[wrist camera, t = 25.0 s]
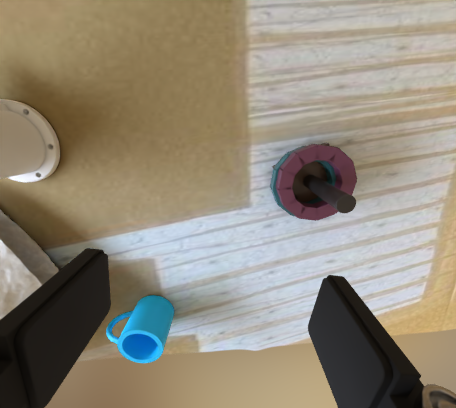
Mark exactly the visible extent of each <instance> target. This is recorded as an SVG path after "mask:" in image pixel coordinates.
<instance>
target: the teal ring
mask: <svg viewBox="0 0 456 408" xmlns="http://www.w3.org/2000/svg"><path fill="white" fill-rule="evenodd" d="M303 147H306V146H302V147H300V148H297V149H295V150H293V151H290V152H288V153H287V154H285V155H284V156H283V158H282V159H281V160H280V161H279V162H278V164H277V165H276V166H275V167H274V168H275V169H273V174H272V179H271V184H270V187H271V190H272V193H273V195H274V198H275V201H276V202H277V204H278V205H279V206H280V207H281V208H282V209H284V210H285V211H286V212H288V213H289V214H290V215H292V216H295V215H293V214H292V213H291V212H290V211H288V210H287V209H286V208H285V207H284V206H283V205H282V203H281V201H280V199H279V196H278V193H277V190H276V181H277V176H278V172H279V168H280V166H281V165H282V164H283V163H284V162H285V160H286V159H287V158H288V157H289V156H290V155H291V153H292V152H293V153H294V151H296V150H298V149H301V148H303ZM314 162H318V163H320V164H321V165H322V166H323V167H324V168H325V171H326V175H327V183H329V184H331V185H333V186H334V185H335V182H336V176H335V172H334V168H333V167H332V166H331V165H330V164H329V163H328V162H327V161H322V160H316V161H314ZM322 200H323V199H321V198H320V197H319V196H318V197H317V198H316V199H313V200H310V201H308V202H301V203H308V204H314V203H317V202H320V201H322Z"/></svg>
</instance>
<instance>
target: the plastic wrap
mask: <svg viewBox="0 0 456 408" xmlns="http://www.w3.org/2000/svg"><path fill="white" fill-rule="evenodd" d="M9 216H10V215H9ZM8 218H9V217H8V216H7V217H6V215H4V213H3V212H2V211H1V210H0V320H1V319H2V318H3V317H4V316H6V315H7V314H8V313H9V312H10V311H12V310H13V309H14V308H15V307H16V306H18V305H19V304H20V303H21V302H22V301H24V300H25V299H26V298H27V297H28V296H30V295H31V294H32V293H33V292H35V291H36V290H37V289H38V288H39V287H41V286H42V285H43V284H44V283H45V282H47V281H48V280H49V279H50V278H51V277H53V276H54V275H55V274H56V273H57V272H59V270H58V269H59V268H57V267H55V265H54V264H55V263H52V262H51V260H50V259H49V257H48V256H47V255H48V254H45V253H44V251H42V250H41V248H40V246H39V247H38V245H37V244H36V243H37V242H35V241H34V240H33V239H32V238H30V236H28V234H26V232H25V231H24V230H23V229H21V228H20V227H19V225H17V224H16V223H14V222H12V221H11V220H10V219H8Z"/></svg>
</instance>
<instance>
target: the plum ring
mask: <svg viewBox="0 0 456 408" xmlns="http://www.w3.org/2000/svg"><path fill="white" fill-rule="evenodd" d="M316 160H322V161H327V162H328V163H329V164H330V165H331V166H332V167H333V168H334V172H335V176H336V182H335V185H334V186H335V187H336V188H338V189H340V190H342V191H344V192H346V193H348V194H349V195H351V196H352V194H353V191H354V188H355V185H356V182H357V177H356V172H355V168H354V163H353V161H352V160H351V159H350V158H349V157H348V156H347V155H346V154H345V153H344V152H343V151H341V150H340V149H339V148H337V147H331V146H324V145H317V144H311V145H308V146H306V147H303V148H301V149H298V150H296V151H294V153H293V152H292V153H291V155H290V156H289V157H288V158H287V159H286V160H285V162H284V163H283V164H282V165H281V166H280V168H279V172H278V176H277V181H276V190H277V193H278V196H279V199H280V201H281V203H282V205H283V206H284V207H285V208H286V209H287V210H288V211H290V212H291V213H292V214H293V215H295V216H296V217H297V218H300V219H308V220H320V219H323V218H326V217H328V216H331V215H334V214H335V213H337V212H338V211H337V210H336V209H335V208H333V207H332V206H331V205H329V204H328V203H327V202H325V201H324V200H322V201H320V202H317V203H314V204H308V203H301V202H300V201H298V200H297V199H296V198H295V195H294V192H293V189H292V186H293V182H294V178H295V175H296V174H297V173H298V171H299V170H300V169H301V168H302V167H303V166H304V165H305V164H308V163H310V162H313V161H316Z"/></svg>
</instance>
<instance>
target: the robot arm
mask: <svg viewBox="0 0 456 408" xmlns="http://www.w3.org/2000/svg"><path fill="white" fill-rule="evenodd" d="M59 159H60V146H59V141H58V139H57V136H56V133H55V132H54V130H53V128H52V126H51V125H50V124H49V122H48V121H47V120H46V119H45V118H44V117H43V116H42V115H41V114H40V113H39V112H38V111H36V110H35V109H33V108H32V107H30V106H28V105H26V104H24V103H21V102H18V101H14V100H7V99H0V179H3V178H9V179H12V180H15V181H19V182H27V183H28V182H36V181H40V180H43V179H45V178H47V177H49V176H50V175H51V174H52V173H53V172H54V171H55V170H56V168H57V166H58V163H59ZM110 306H111V300H110V285H109V269H108V256H107V254H104V251H103V250H99V249H90V248H87V249H85V250H84V251H83V252H82V253H80V254H79V255H78V256H77V257H76V258H74V259H73V260H72V261H71V262H69V263H68V264H67V265H66V266H65V267H63V268H62V269H61V270H60V271H59V272H57V273H56V274H55V275H54V276H53V277H51V278H50V279H49V280H48V281H47V282H45V283H44V284H43V285H42V286H41V287H39V288H38V289H37V290H36V291H35V292H33V293H32V294H31V295H30V296H28V297H27V298H26V299H25V300H24V301H22V302H21V303H20V304H19V305H18V306H16V307H15V308H14V309H13V310H12V311H10V312H9V313H8V314H7V315H6V316H4V317H3V318H2V319H1V320H0V408H44V407H45V406H46V405H47V404H48V403H49V401H50V400H51V398H52V397H53V395H54V394H55V392H56V391H57V389H58V388H59V386H60V385H61V383H62V382H63V380H64V379H65V377H66V376H67V374H68V373H69V371H70V370H71V368H72V367H73V365H74V364H75V362H76V361H77V359H78V358H79V356H80V355H81V353H82V352H83V350H84V349H85V347H86V346H87V344H88V343H89V341H90V340H91V338H92V336H93V335H94V333H95V332H96V330H97V329H98V327H99V326H100V324H101V323H102V321H103V320H104V318H105V317H106V315H107V314H108V312H109V310H110ZM308 331H309V335H310V337H311V340H312V342H313V344H314V347H315V350H316V352H317V355H318V357H319V360H320V362H321V365H322V368H323V370H324V372H325V375H326V378H327V380H328V383H329V385H330V388H331V390H332V393H333V396H334V398H335V401H336V403H337V405H338V408H456V394H455V393H453V392H452V391H450V390H448V389H446V388H444V387H441V386H438V385H433V384H430V385H429V384H428V385H426V386H424V385H423V384H422V383H421V381H420V380H419V378H420V377H421V375H420V374H419V372H418V371H417V370H416V369H415V367H414V366H413V365H412V363H411V362H410V361H409V360H408V358H407V357H406V356H405V354H404V353H403V352H402V351H401V349H400V348H399V347H398V346H397V344H396V343H395V342H394V340H393V339H392V338H391V337H390V335H389V334H388V333H387V331H386V330H385V329H384V328H383V326H382V325H381V324H380V322H379V321H378V320H377V319H376V317H375V316H374V315H373V314H372V312H371V311H370V310H369V308H368V307H367V306H366V305H365V303H364V302H363V301H362V299H361V298H360V297H359V296H358V294H357V293H356V292H355V290H354V289H353V288H352V287H351V285H350V284H349V283H348V282H347V280H346V279H345V278H344V277H342V276H333V275H329V276H328V277H327V278H324V279H323V281H322V284H321V287H320V290H319V293H318V297H317V300H316V303H315V306H314V309H313V312H312V315H311V318H310V321H309V324H308Z"/></svg>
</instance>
